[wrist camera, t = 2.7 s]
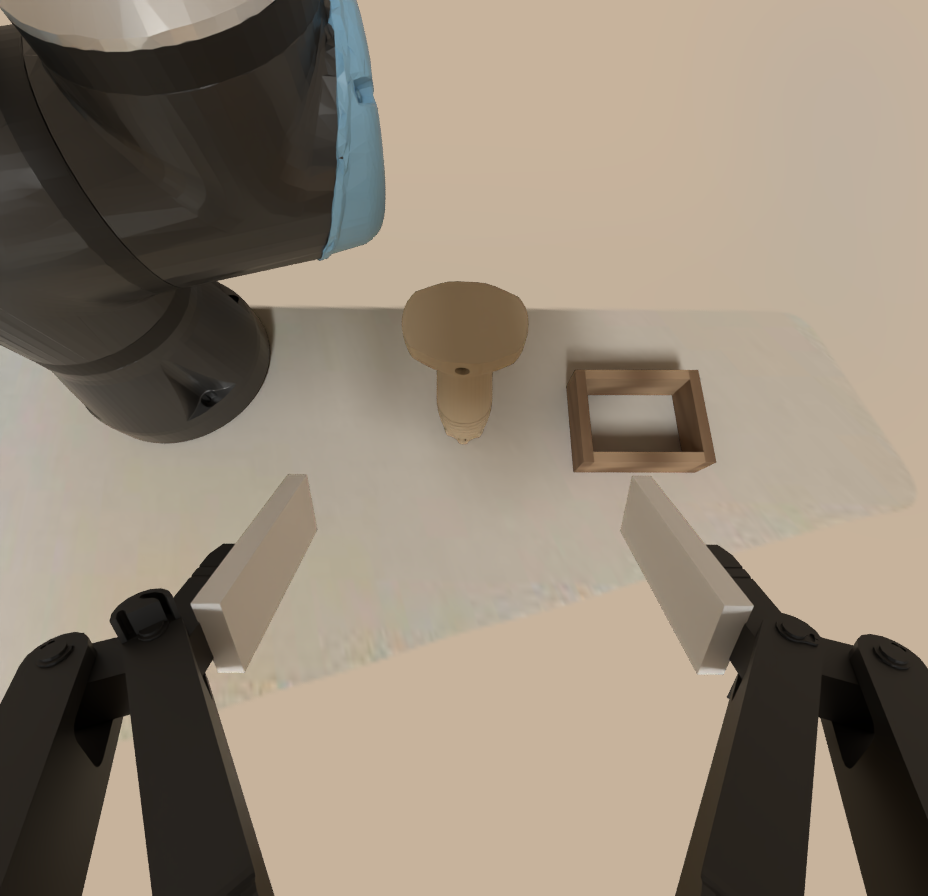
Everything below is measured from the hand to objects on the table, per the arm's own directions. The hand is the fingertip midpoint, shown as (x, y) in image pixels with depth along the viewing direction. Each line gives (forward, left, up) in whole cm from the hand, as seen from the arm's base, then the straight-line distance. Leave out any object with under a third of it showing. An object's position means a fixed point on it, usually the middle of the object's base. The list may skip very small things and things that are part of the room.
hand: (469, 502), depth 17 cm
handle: (0, +9, -16) cm, 19 cm away
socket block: (+14, +9, -16) cm, 23 cm away
